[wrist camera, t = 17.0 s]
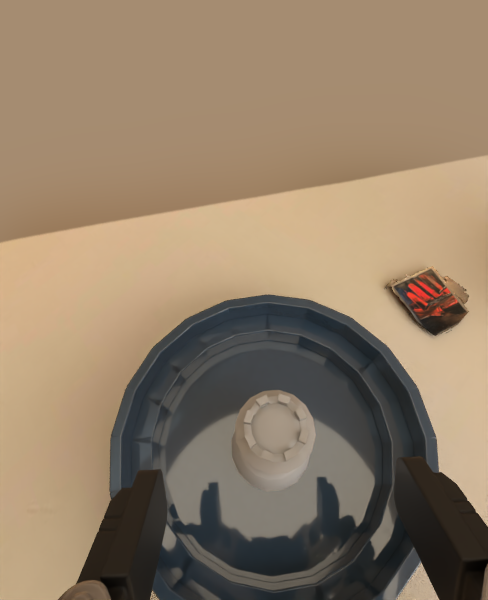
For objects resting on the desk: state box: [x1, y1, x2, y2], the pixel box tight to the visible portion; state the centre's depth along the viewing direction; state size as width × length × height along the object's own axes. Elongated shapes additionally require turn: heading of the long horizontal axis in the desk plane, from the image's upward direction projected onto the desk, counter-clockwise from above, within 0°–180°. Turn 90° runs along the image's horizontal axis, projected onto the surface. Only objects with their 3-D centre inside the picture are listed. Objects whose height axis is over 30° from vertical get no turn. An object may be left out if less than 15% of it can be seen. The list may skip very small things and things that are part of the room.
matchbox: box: [386, 266, 469, 335], centre depth 26 cm, size 5×5×1 cm
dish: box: [109, 295, 439, 600], centre depth 20 cm, size 16×16×4 cm
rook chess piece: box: [232, 390, 316, 491], centre depth 18 cm, size 4×4×8 cm
